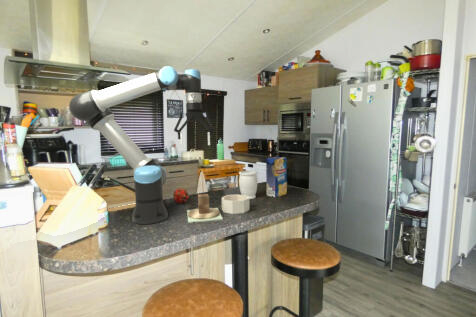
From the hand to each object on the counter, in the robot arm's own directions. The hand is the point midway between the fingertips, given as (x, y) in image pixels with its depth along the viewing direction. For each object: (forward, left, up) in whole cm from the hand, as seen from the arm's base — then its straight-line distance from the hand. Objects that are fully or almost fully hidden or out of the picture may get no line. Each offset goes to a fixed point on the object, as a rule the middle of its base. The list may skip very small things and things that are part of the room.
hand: (195, 145), depth 135 cm
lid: (+2, -14, -31) cm, 34 cm away
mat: (+2, -14, -32) cm, 35 cm away
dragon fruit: (-8, +12, -32) cm, 35 cm away
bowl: (+18, -9, -32) cm, 38 cm away
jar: (+30, +12, -32) cm, 45 cm away
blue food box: (+48, +14, -32) cm, 59 cm away
